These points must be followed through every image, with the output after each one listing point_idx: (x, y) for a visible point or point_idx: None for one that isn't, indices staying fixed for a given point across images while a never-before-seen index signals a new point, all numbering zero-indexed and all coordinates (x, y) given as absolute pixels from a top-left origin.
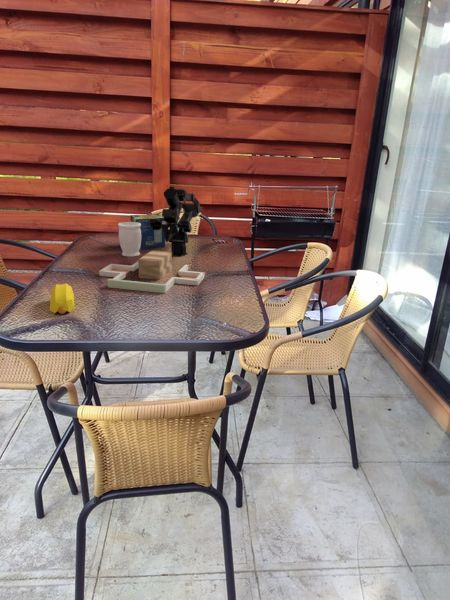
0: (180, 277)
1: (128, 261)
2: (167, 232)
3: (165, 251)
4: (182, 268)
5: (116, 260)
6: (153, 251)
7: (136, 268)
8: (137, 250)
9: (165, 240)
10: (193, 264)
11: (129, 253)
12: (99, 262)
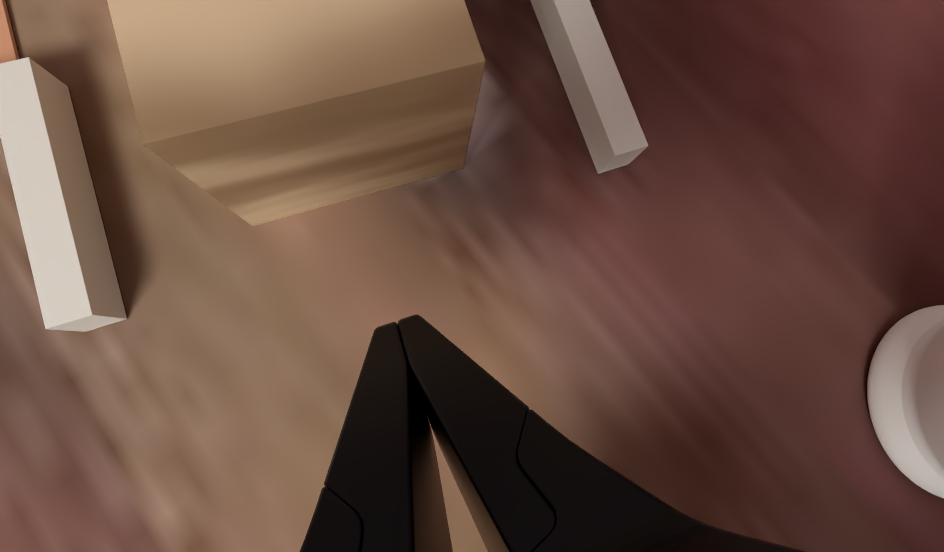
0: (6, 39)
1: (781, 192)
2: (495, 542)
3: (258, 114)
4: (37, 163)
5: (884, 155)
6: (420, 14)
7: (547, 36)
8: (926, 409)
9: (414, 315)
10: (135, 539)
11: (936, 328)
12: (933, 29)
